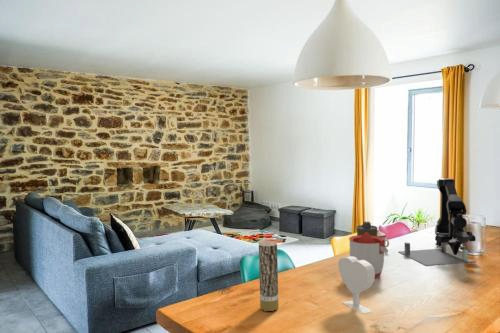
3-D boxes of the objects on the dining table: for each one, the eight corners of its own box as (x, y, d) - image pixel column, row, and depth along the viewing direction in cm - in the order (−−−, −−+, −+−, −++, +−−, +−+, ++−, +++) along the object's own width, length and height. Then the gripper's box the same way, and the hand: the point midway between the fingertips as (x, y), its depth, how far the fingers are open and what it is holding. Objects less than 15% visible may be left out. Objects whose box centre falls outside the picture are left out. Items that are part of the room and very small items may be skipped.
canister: (380, 263, 203) (380, 223, 202) (359, 263, 203) (359, 224, 202) (374, 257, 213) (373, 219, 212) (354, 257, 214) (354, 220, 213)
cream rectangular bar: (443, 251, 217) (443, 242, 217) (446, 251, 217) (446, 242, 217) (464, 260, 200) (464, 250, 200) (467, 260, 200) (467, 250, 200)
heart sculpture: (376, 312, 144) (376, 263, 143) (366, 315, 141) (365, 265, 140) (347, 298, 157) (346, 253, 156) (337, 301, 155) (336, 255, 154)
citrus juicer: (381, 284, 172) (381, 238, 171) (343, 276, 183) (343, 233, 182) (393, 274, 185) (393, 231, 184) (357, 268, 195) (356, 227, 194)
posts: (448, 251, 221) (448, 239, 220) (466, 258, 207) (466, 245, 206) (404, 254, 217) (404, 242, 216) (419, 261, 203) (419, 249, 202)
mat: (443, 249, 226) (443, 248, 226) (475, 262, 200) (475, 261, 200) (398, 252, 221) (398, 251, 221) (426, 265, 196) (426, 265, 196)
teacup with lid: (365, 249, 228) (365, 229, 228) (375, 247, 234) (375, 227, 233) (383, 254, 219) (383, 232, 218) (393, 251, 224) (393, 230, 223)
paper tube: (267, 303, 154) (266, 239, 153) (282, 308, 150) (280, 241, 149) (256, 309, 149) (254, 243, 148) (271, 314, 145) (269, 245, 143)
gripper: (447, 228, 195) (447, 260, 196) (483, 226, 197) (483, 258, 198) (434, 224, 206) (434, 254, 207) (468, 222, 208) (468, 252, 209)
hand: (455, 254), depth 205 cm, fingers closed
